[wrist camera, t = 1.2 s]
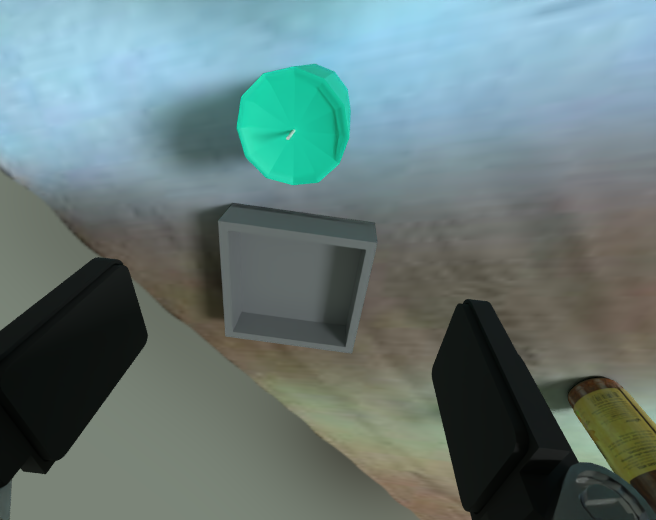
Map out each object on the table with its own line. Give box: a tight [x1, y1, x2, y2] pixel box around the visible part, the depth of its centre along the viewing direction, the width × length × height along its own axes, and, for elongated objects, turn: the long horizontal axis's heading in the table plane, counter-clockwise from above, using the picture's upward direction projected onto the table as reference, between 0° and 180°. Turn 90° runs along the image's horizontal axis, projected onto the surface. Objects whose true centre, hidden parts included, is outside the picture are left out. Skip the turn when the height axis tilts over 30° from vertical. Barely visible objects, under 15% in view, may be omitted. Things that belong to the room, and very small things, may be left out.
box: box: [218, 203, 377, 353], centre depth 33 cm, size 14×14×4 cm
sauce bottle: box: [568, 377, 656, 514], centre depth 33 cm, size 7×6×20 cm
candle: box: [236, 64, 351, 185], centre depth 21 cm, size 6×6×12 cm
